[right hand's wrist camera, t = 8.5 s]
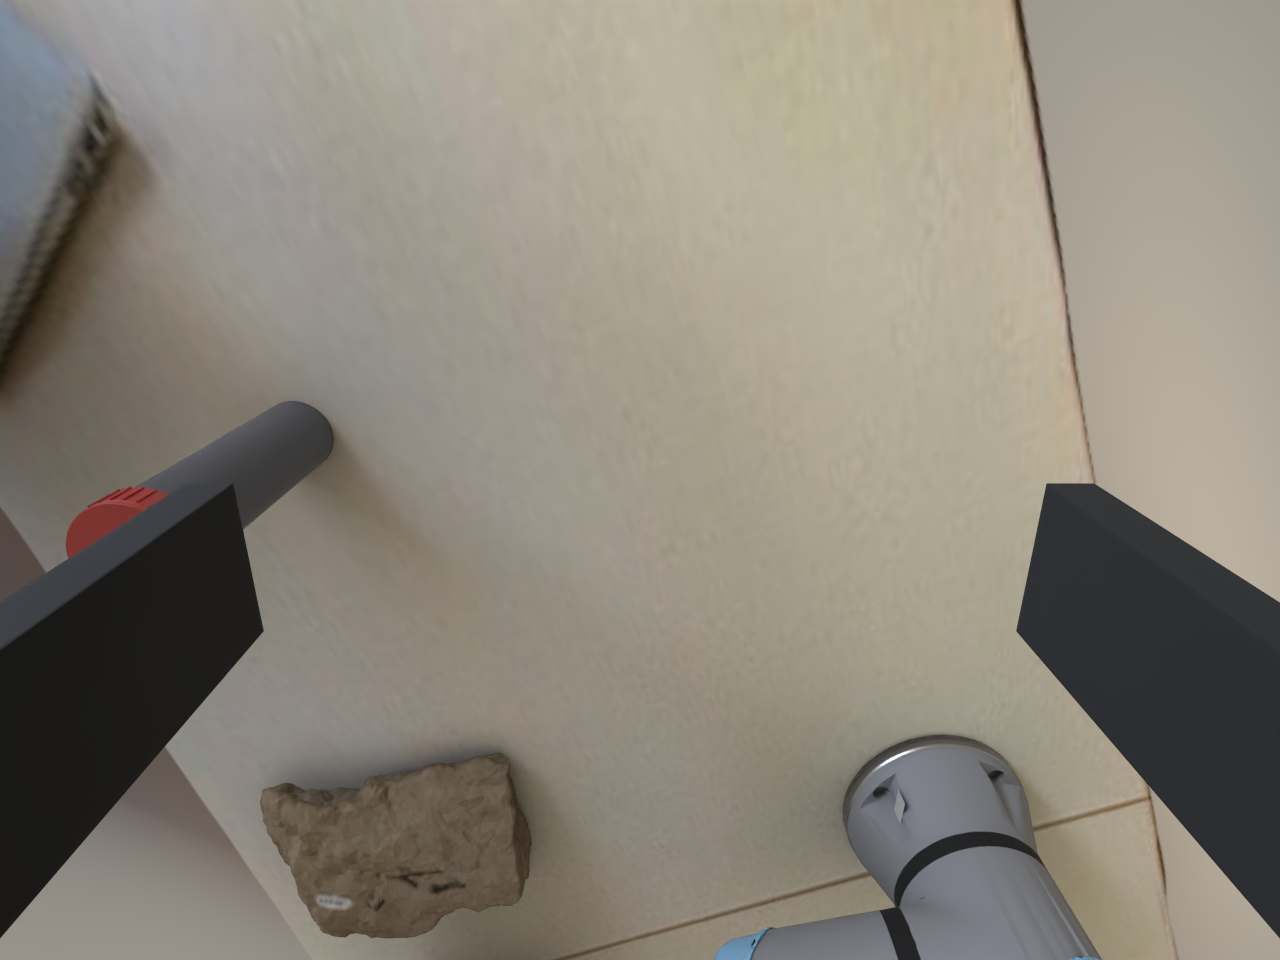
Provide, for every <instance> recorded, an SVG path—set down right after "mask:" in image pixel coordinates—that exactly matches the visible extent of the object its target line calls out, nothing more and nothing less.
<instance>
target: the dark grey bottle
mask: <svg viewBox="0 0 1280 960" xmlns="http://www.w3.org/2000/svg"><path fill="white" fill-rule="evenodd" d="M332 446H333V434H332V430H331V427H330V425H329V423H328V421H327V420H326V419H325V417H324V416H323V415H322V414H321V413H320V412H319V411H318V410H316V409H315V408H313V407H311V406H310V405H307V404H305V403H301V402H295V401H289V402H283V403H280V404H278V405H276V406H274V407H272V408H271V409H269V410H267V411H266V412H264V413H262V414H260V415H259V416H257V417H255V418H254V419H252V420H250V421H248V422H247V423H245V424H243V425H242V426H240V427H238V428H236V429H235V430H233V431H231V432H230V433H228V434H226V435H224V436H223V437H221V438H219V439H217V440H216V441H214V442H212V443H211V444H209V445H207V446H205V447H204V448H202V449H200V450H199V451H197V452H195V453H193V454H192V455H190V456H188V457H187V458H185V459H183V460H181V461H180V462H178V463H176V464H175V465H173V466H171V467H169V468H168V469H166V470H164V471H162V472H161V473H159V474H157V475H156V476H154V477H152V478H150V479H149V480H147V481H145V482H144V483H142V484H140V485H138V486H137V487H135V488H140V487H144V488H149V489H157V490H158V491H161V492H164V493H166V494H170V493H172V492H174V491H175V490H177V489H178V488H180V487H181V486H183V485H184V484H234V489H235V494H236V499H237V504H238V509H239V514H240V518H241V523H242V528H243V529H244V528H245V527H246V526H248V525H249V524H250V523H251V522H252V521H254V520H255V519H256V518H257V517H258V516H260V515H261V514H262V513H263V512H264V511H265V510H267V509H268V508H269V507H270V506H271V505H273V504H274V503H275V502H276V501H277V500H278V499H280V498H281V497H282V496H283V495H284V494H286V493H287V492H288V491H289V490H290V489H291V488H293V487H294V486H295V485H296V484H297V483H299V482H300V481H301V480H302V479H303V478H304V477H306V476H307V475H308V474H309V473H310V472H312V471H313V470H314V469H315V468H316V467H317V466H319V465H320V464H321V463H322V462H323V461H324V460H325V459H326V458H327V457H328V456H329V454H330V452H331V450H332Z"/></svg>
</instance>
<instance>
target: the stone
mask: <svg viewBox="0 0 1280 960" xmlns="http://www.w3.org/2000/svg"><path fill="white" fill-rule="evenodd" d="M509 770H510V764H509V761H508V759H507V758H506V757H505V756H504V755H503V754H501V753H497V754H493V755H489V756H480V757H476V758H472V759H469V760H466V761H463V762H461V763H458V764H441V763H435V764H432V765H430V766H427V767H423V768H421V769H420V770H419V771H414V772H410V773H404V772H398V773H396V774H392V775H386V776H382V775H379V776H375V777H371V778H368V779H366V781H365V784H364V786H363V787H362V788H361V789H347V788H335V789H333V790H331V791H326V790H323V789H321V790H316V789H310V790H308V791H304V790H302V789H301V788H299V787H297V786H295V785H293V784H291V783H284V784H281V785H278V786H275V787H270V788H267V789H264V790H263V792H262V797H261V801H260V803H261V809H262V812H263V821H264V823H265V824H266V826H267V833H268V834H269V835H270V837H271V838H272V841H273V843H274V844H275V845H277V848H278V850H279V853H280V855H281V856H282V858H283V860H284V862H285V863H286V864H288V865H289V866H290V867H291V873H292V874H293V876H294V878H295V881H296V885H297V889H298V894H299V897H300V898H301V900H302V901H303V902H304V903H305V904H306V905H307V907H308V910H309V912H310V914H311V916H312V918H313V920H314V921H315V922H316V923H317V925H318V926H319V927H320V930H321V931H322V932H323V933H326V934H330V935H331V936H336V937H346V936H348V935H349V934H353V933H359V934H365V935H367V936H369V937H371V938H374V937H379V938H406V937H415V936H418V935H421V934H423V933H426V932H428V931H430V930H431V929H433V928H434V927H435V926H436V925H437V923H438V921H439V920H440V919H441V917H443V916H444V915H446V914H449V913H451V912H453V911H454V910H456V909H458V908H461V907H464V908H468V909H473V910H475V911H477V912H480V911H482V910H484V909H486V908H488V907H491V906H498V905H504V906H511V905H514V904H515V903H516V902H518V901H519V899H520V898H521V896H522V891H523V889H524V883H525V881H524V880H525V879H527V878H528V876H529V855H530V846H531V839H530V833H529V830H528V824H527V823H526V819H525V817H524V816H523V814H522V813H521V811H520V810H519V808H518V805H517V800H516V795H515V792H514V788H513V784H512V779H511V777H510V775H509Z"/></svg>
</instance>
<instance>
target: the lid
mask: <svg viewBox="0 0 1280 960" xmlns="http://www.w3.org/2000/svg"><path fill="white" fill-rule="evenodd" d="M167 495H169V494H166V493H164V492H161V491H158V490H157V489H149V488H144V487H140V488H132V487H128V488H127V489H124V490H120V489H119V490H117V491H115V492H113V493H111V494H109V495H107V496H105V497H103V498H101V499H100V500H98V501H96V502H94V503H93V504H91V505H89V506H88V509H86V510H84V511H82V512H81V513H80V514H79V515H78V516H77V517H76V518H75V519H74V520H73V522H72V523H71V525H70V527H69V530H68V532H67V537H66V550H67V555H68V558H71V557H72V556H74V555H75V554H77V553H78V552H80V551H82V550H83V549H85V548H86V547H88V546H89V545H91V544H92V543H94V542H96V541H97V540H99V539H100V538H102V537H103V536H105V535H106V534H108V533H110V532H111V531H113V530H114V529H116V528H117V527H119V526H121V525H122V524H124V523H125V522H127V521H128V520H130V519H131V518H133V517H135V516H136V515H138V514H139V513H141V512H142V511H144V510H145V509H147V508H149V507H150V506H152V505H153V504H155V503H156V502H158V501H160V500H161V499H163V498H164V497H166V496H167Z"/></svg>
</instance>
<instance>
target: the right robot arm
mask: <svg viewBox="0 0 1280 960" xmlns="http://www.w3.org/2000/svg"><path fill="white" fill-rule="evenodd" d="M263 631H264V630H263V625H262V621H261V616H260V611H259V606H258V601H257V596H256V591H255V587H254V582H253V577H252V572H251V567H250V562H249V557H248V553H247V548H246V543H245V538H244V533H243V528H242V523H241V518H240V514H239V509H238V504H237V499H236V494H235V489H234V484H184V485H183V486H181V487H180V488H178V489H177V490H175V491H174V492H172V493H170V494H169V495H167V496H166V497H164V498H163V499H161V500H160V501H158V502H156V503H155V504H153V505H152V506H150V507H149V508H147V509H145V510H144V511H142V512H141V513H139V514H138V515H136V516H135V517H133V518H131V519H130V520H128V521H127V522H125V523H124V524H122V525H121V526H119V527H117V528H116V529H114V530H113V531H111V532H110V533H108V534H106V535H105V536H103V537H102V538H100V539H99V540H97V541H96V542H94V543H92V544H91V545H89V546H88V547H86V548H85V549H83V550H82V551H80V552H78V553H77V554H75V555H74V556H72V557H71V558H69V559H68V560H66V561H64V562H63V563H61V564H60V565H58V566H57V567H55V568H53V569H52V570H50V571H49V572H47V573H46V574H44V575H43V576H41V577H39V578H38V579H36V580H35V581H33V582H32V583H30V584H29V585H27V586H26V587H24V588H22V589H21V590H19V591H18V592H16V593H15V594H13V595H11V596H10V597H8V598H7V599H5V600H4V601H2V602H1V603H0V938H1V937H2V935H3V934H4V933H5V932H6V931H7V930H8V928H9V927H10V926H11V925H12V924H13V923H14V921H15V920H16V919H17V918H18V917H19V916H20V915H21V913H22V912H23V911H24V910H25V909H26V907H27V906H28V905H29V904H30V903H31V902H32V901H33V899H34V898H35V897H36V896H37V895H38V894H39V892H40V891H41V890H42V889H43V888H44V887H45V885H46V884H47V883H48V882H49V881H50V880H51V878H52V877H53V876H54V875H55V874H56V873H57V871H58V870H59V869H60V868H61V867H62V866H63V864H64V863H65V862H66V861H67V860H68V858H69V857H70V856H71V855H72V854H73V853H74V852H75V850H76V849H77V848H78V847H79V846H80V845H81V843H82V842H83V841H84V840H85V839H86V838H87V836H88V835H89V834H90V833H91V832H92V831H93V829H94V828H95V827H96V826H97V825H98V824H99V822H100V821H101V820H102V819H103V818H104V817H105V815H106V814H107V813H108V812H109V811H110V809H111V808H112V807H113V806H114V805H115V804H116V803H117V801H118V800H119V799H120V798H121V797H122V796H123V794H124V793H125V792H126V791H127V790H128V789H129V787H130V786H131V785H132V784H133V783H134V782H135V780H136V779H137V778H138V777H139V776H140V775H141V773H142V772H143V771H144V770H145V769H146V768H147V766H148V765H149V764H150V763H151V762H152V761H153V759H154V758H155V757H156V756H157V755H158V754H159V752H160V751H161V750H162V749H163V748H164V747H165V745H166V744H167V743H168V742H169V741H170V740H171V739H172V737H173V736H174V735H175V734H176V733H177V732H178V730H179V729H180V728H181V727H182V726H183V725H184V723H185V722H186V721H187V720H188V719H189V718H190V716H191V715H192V714H193V713H194V712H195V711H196V709H197V708H198V707H199V706H200V705H201V704H202V702H203V701H204V700H205V699H206V698H207V697H208V695H209V694H210V693H211V692H212V691H213V690H214V688H215V687H216V686H217V685H218V684H219V683H220V681H221V680H222V679H223V678H224V677H225V676H226V674H227V673H228V672H229V671H230V670H231V669H232V667H233V666H234V665H235V664H236V663H237V662H238V660H239V659H240V658H241V657H242V656H243V655H244V653H245V652H246V651H247V650H248V649H249V648H250V646H251V645H252V644H253V643H254V642H255V641H256V639H257V638H258V637H259V636H260V635H261V634H262V632H263ZM1016 631H1017V632H1018V634H1019V635H1020V636H1021V637H1022V638H1023V639H1024V641H1025V642H1026V643H1027V644H1028V645H1029V646H1030V648H1031V649H1032V650H1033V651H1034V652H1035V653H1036V655H1037V656H1038V657H1039V658H1040V659H1041V660H1042V662H1043V663H1044V664H1045V665H1046V666H1047V667H1048V669H1049V670H1050V671H1051V672H1052V673H1053V674H1054V676H1055V677H1056V678H1057V679H1058V680H1059V681H1060V683H1061V684H1062V685H1063V686H1064V687H1065V688H1066V690H1067V691H1068V692H1069V693H1070V694H1071V695H1072V697H1073V698H1074V699H1075V700H1076V701H1077V702H1078V704H1079V705H1080V706H1081V707H1082V708H1083V709H1084V711H1085V712H1086V713H1087V714H1088V715H1089V716H1090V718H1091V719H1092V720H1093V721H1094V722H1095V723H1096V725H1097V726H1098V727H1099V728H1100V729H1101V730H1102V732H1103V733H1104V734H1105V735H1106V736H1107V737H1108V739H1109V740H1110V741H1111V742H1112V743H1113V744H1114V745H1115V747H1116V748H1117V749H1118V750H1119V751H1120V752H1121V754H1122V755H1123V756H1124V757H1125V758H1126V759H1127V761H1128V762H1129V763H1130V764H1131V765H1132V766H1133V768H1134V769H1135V770H1136V771H1137V772H1138V773H1139V775H1140V776H1141V777H1142V778H1143V779H1144V780H1145V782H1146V783H1147V784H1148V785H1149V786H1150V787H1151V789H1152V790H1153V791H1154V792H1155V793H1156V794H1157V796H1158V797H1159V798H1160V799H1161V800H1162V801H1163V803H1164V804H1165V805H1166V806H1167V807H1168V808H1169V810H1170V811H1171V812H1172V813H1173V814H1174V815H1175V817H1176V818H1177V819H1178V820H1179V821H1180V822H1181V824H1182V825H1183V826H1184V827H1185V828H1186V829H1187V831H1188V832H1189V833H1190V834H1191V835H1192V836H1193V838H1194V839H1195V840H1196V841H1197V842H1198V843H1199V845H1200V846H1201V847H1202V848H1203V849H1204V850H1205V852H1206V853H1207V854H1208V855H1209V856H1210V857H1211V859H1212V860H1213V861H1214V862H1215V863H1216V864H1217V866H1218V867H1219V868H1220V869H1221V870H1222V871H1223V873H1224V874H1225V875H1226V876H1227V877H1228V878H1229V880H1230V881H1231V882H1232V883H1233V884H1234V885H1235V886H1236V888H1237V889H1238V890H1239V891H1240V892H1241V894H1242V895H1243V896H1244V897H1245V898H1246V899H1247V900H1248V902H1249V903H1250V904H1251V905H1252V906H1253V908H1254V909H1255V910H1256V911H1257V912H1258V913H1259V914H1260V916H1261V917H1262V918H1263V919H1264V920H1265V921H1266V923H1267V924H1268V925H1269V926H1270V927H1271V928H1272V930H1273V931H1274V932H1275V933H1276V934H1277V935H1278V937H1279V938H1280V602H1278V601H1276V600H1275V599H1273V598H1272V597H1270V596H1269V595H1267V594H1265V593H1264V592H1262V591H1261V590H1259V589H1258V588H1256V587H1255V586H1253V585H1251V584H1250V583H1248V582H1247V581H1245V580H1244V579H1242V578H1241V577H1239V576H1237V575H1236V574H1234V573H1233V572H1231V571H1230V570H1228V569H1226V568H1225V567H1223V566H1222V565H1220V564H1219V563H1217V562H1216V561H1214V560H1212V559H1211V558H1209V557H1208V556H1206V555H1205V554H1203V553H1202V552H1200V551H1198V550H1197V549H1195V548H1194V547H1192V546H1191V545H1189V544H1188V543H1186V542H1184V541H1183V540H1181V539H1180V538H1178V537H1177V536H1175V535H1173V534H1172V533H1170V532H1169V531H1167V530H1166V529H1164V528H1163V527H1161V526H1159V525H1158V524H1156V523H1155V522H1153V521H1152V520H1150V519H1149V518H1147V517H1145V516H1144V515H1142V514H1141V513H1139V512H1138V511H1136V510H1135V509H1133V508H1131V507H1130V506H1128V505H1127V504H1125V503H1123V502H1122V501H1120V500H1119V499H1117V498H1116V497H1114V496H1113V495H1111V494H1110V493H1108V492H1106V491H1105V490H1103V489H1102V488H1100V487H1099V486H1097V485H1096V484H1046V489H1045V494H1044V499H1043V504H1042V509H1041V514H1040V518H1039V523H1038V528H1037V533H1036V538H1035V543H1034V548H1033V553H1032V557H1031V562H1030V567H1029V572H1028V577H1027V582H1026V587H1025V591H1024V596H1023V601H1022V606H1021V611H1020V616H1019V621H1018V625H1017V630H1016ZM843 820H844V825H845V829H846V832H847V835H848V838H849V841H850V844H851V846H852V848H853V850H854V852H855V854H856V855H857V857H858V859H859V860H860V862H861V863H862V864H863V865H864V867H865V868H866V869H867V870H868V872H869V873H870V874H871V875H872V877H873V878H874V879H875V880H876V882H877V883H878V884H879V885H880V887H881V888H882V889H883V890H884V892H885V893H886V894H887V896H888V897H889V898H890V899H891V901H892V902H893V903H894V904H895V908H890V909H885V910H878V911H872V912H867V913H861V914H855V915H850V916H844V917H838V918H832V919H827V920H821V921H815V922H810V923H804V924H798V925H793V926H787V927H781V928H774V927H769V928H766V929H763V930H761V931H760V932H759V933H757V934H753V935H749V936H745V937H740V938H736V939H732V940H730V941H729V942H727V943H726V944H724V945H723V946H722V947H721V948H720V949H719V950H718V952H717V953H716V955H715V957H714V960H1102V959H1101V957H1100V956H1099V954H1098V952H1097V951H1096V949H1095V947H1094V946H1093V944H1092V942H1091V941H1090V939H1089V938H1088V936H1087V934H1086V933H1085V931H1084V929H1083V928H1082V926H1081V924H1080V923H1079V921H1078V920H1077V918H1076V916H1075V915H1074V913H1073V911H1072V910H1071V908H1070V906H1069V905H1068V903H1067V902H1066V900H1065V898H1064V897H1063V895H1062V893H1061V892H1060V890H1059V888H1058V887H1057V885H1056V884H1055V882H1054V880H1053V879H1052V877H1051V875H1050V874H1049V872H1048V871H1047V869H1046V867H1045V866H1044V864H1043V862H1042V861H1041V859H1040V857H1039V856H1038V853H1037V848H1036V843H1035V838H1034V833H1033V827H1032V822H1031V817H1030V812H1029V807H1028V802H1027V798H1026V795H1025V792H1024V790H1023V787H1022V785H1021V783H1020V781H1019V779H1018V778H1017V776H1016V775H1015V773H1014V772H1013V770H1012V768H1011V767H1010V766H1009V764H1008V763H1007V761H1006V760H1005V759H1004V758H1003V757H1002V756H1001V755H1000V754H999V753H997V752H996V751H995V750H993V749H992V748H990V747H988V746H986V745H985V744H982V743H980V742H978V741H975V740H972V739H968V738H964V737H958V736H948V735H936V736H926V737H921V738H916V739H912V740H908V741H905V742H902V743H900V744H897V745H895V746H893V747H891V748H889V749H887V750H885V751H883V752H882V753H880V754H879V755H877V756H876V757H874V758H873V759H872V760H871V761H869V762H868V763H867V764H866V765H865V766H864V767H863V768H862V769H861V770H860V771H859V772H858V774H857V775H856V776H855V778H854V779H853V781H852V783H851V784H850V786H849V788H848V791H847V793H846V796H845V799H844V804H843Z"/></svg>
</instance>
